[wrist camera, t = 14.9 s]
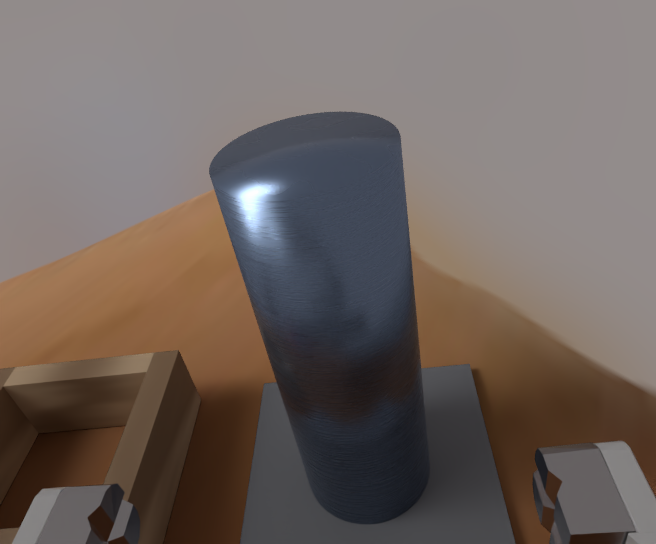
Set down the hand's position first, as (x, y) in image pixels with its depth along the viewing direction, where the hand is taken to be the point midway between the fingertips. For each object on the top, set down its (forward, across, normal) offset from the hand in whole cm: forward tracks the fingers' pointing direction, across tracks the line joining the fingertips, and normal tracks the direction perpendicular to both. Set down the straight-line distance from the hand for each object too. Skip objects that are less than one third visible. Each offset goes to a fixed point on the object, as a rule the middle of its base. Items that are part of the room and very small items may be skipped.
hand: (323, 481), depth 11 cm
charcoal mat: (+7, 0, +11) cm, 13 cm away
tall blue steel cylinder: (+7, 0, +10) cm, 12 cm away
